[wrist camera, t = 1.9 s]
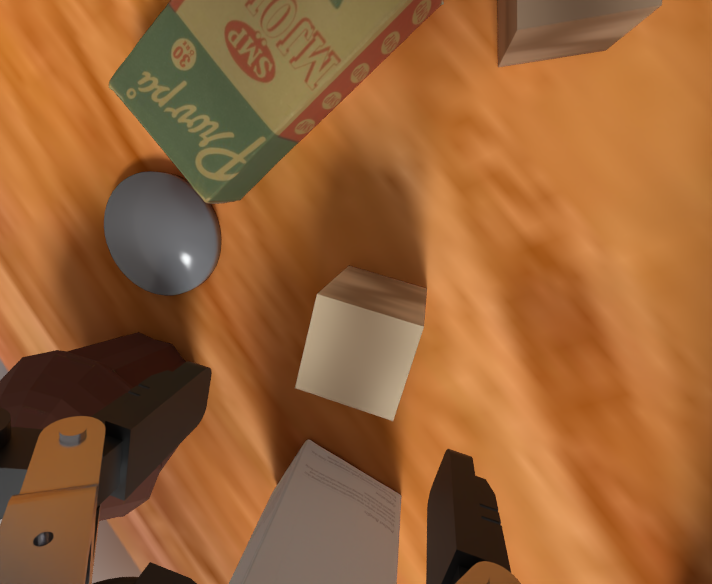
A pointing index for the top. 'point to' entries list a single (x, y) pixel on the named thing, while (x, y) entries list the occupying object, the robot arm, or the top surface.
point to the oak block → (363, 341)
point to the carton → (253, 78)
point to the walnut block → (564, 27)
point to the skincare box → (324, 527)
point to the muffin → (86, 391)
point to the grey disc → (162, 233)
